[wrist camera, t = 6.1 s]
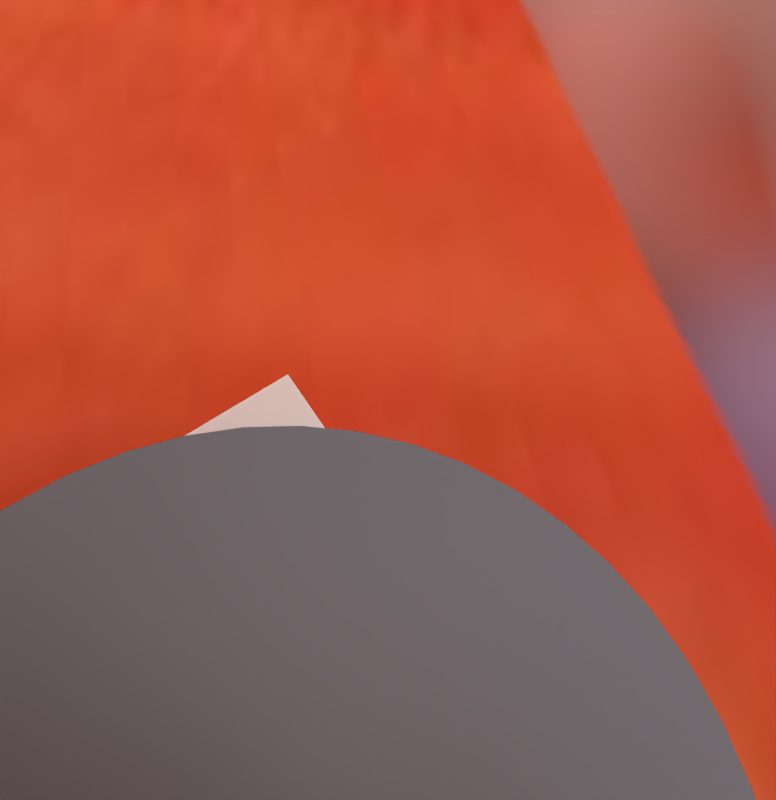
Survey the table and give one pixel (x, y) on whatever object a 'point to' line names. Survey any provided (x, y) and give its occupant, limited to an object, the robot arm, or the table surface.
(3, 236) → the table surface
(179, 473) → the slate post
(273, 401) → the seat board
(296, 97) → the table surface
